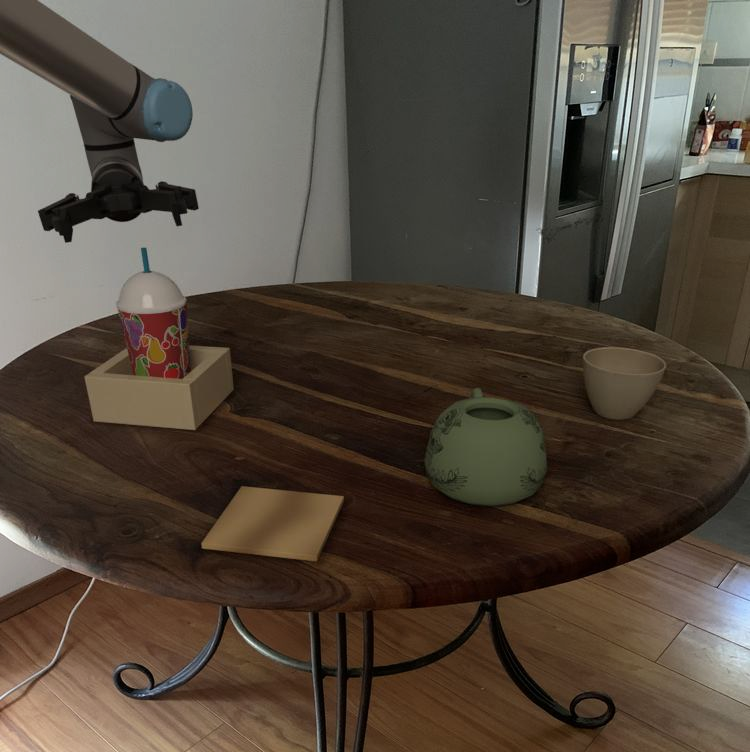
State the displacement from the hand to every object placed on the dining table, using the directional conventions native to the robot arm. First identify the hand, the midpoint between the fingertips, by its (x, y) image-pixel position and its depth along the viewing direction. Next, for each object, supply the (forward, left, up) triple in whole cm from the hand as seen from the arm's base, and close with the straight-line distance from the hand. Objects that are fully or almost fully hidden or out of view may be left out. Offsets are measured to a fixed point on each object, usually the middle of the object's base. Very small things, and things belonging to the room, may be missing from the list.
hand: (121, 223), depth 91 cm
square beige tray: (+5, -5, -22) cm, 23 cm away
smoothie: (+5, -5, -22) cm, 23 cm away
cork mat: (+28, -31, -22) cm, 47 cm away
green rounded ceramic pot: (+47, -17, -22) cm, 55 cm away
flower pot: (+63, +4, -22) cm, 67 cm away
